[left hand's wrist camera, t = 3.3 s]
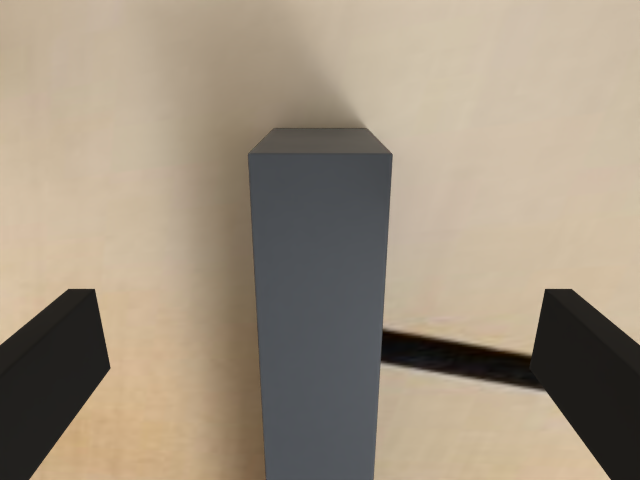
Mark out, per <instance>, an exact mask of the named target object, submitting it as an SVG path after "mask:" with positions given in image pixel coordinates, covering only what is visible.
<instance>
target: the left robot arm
mask: <svg viewBox="0 0 640 480" xmlns="http://www.w3.org/2000/svg"><path fill="white" fill-rule="evenodd" d="M109 370H110V363H109V358H108V353H107V348H106V343H105V338H104V333H103V328H102V323H101V318H100V313H99V308H98V303H97V298H96V293H95V289H68V290H67V291H65V292H64V293H63V294H62V295H61V296H59V297H58V298H57V299H56V300H55V301H53V302H52V303H51V304H50V305H48V306H47V307H46V308H45V309H44V310H42V311H41V312H40V313H39V314H38V315H36V316H35V317H34V318H33V319H32V320H30V321H29V322H28V323H27V324H25V325H24V326H23V327H22V328H21V329H19V330H18V331H17V332H16V333H15V334H13V335H12V336H11V337H10V338H8V339H7V340H6V341H5V342H4V343H2V344H1V345H0V480H29V479H30V478H31V476H32V475H33V474H34V472H35V471H36V470H37V468H38V467H39V465H40V464H41V463H42V461H43V460H44V459H45V457H46V456H47V454H48V453H49V452H50V450H51V449H52V448H53V446H54V445H55V444H56V442H57V441H58V439H59V438H60V437H61V435H62V434H63V433H64V431H65V430H66V428H67V427H68V426H69V424H70V423H71V422H72V420H73V419H74V418H75V416H76V415H77V413H78V412H79V411H80V409H81V408H82V407H83V405H84V404H85V402H86V401H87V400H88V398H89V397H90V396H91V394H92V393H93V392H94V390H95V389H96V387H97V386H98V385H99V383H100V382H101V381H102V379H103V378H104V376H105V375H106V374H107V372H108V371H109ZM530 370H531V371H532V372H533V374H534V375H535V376H536V378H537V379H538V381H539V382H540V383H541V385H542V386H543V387H544V389H545V390H546V392H547V393H548V394H549V396H550V397H551V398H552V400H553V401H554V402H555V404H556V405H557V407H558V408H559V409H560V411H561V412H562V413H563V415H564V416H565V418H566V419H567V420H568V422H569V423H570V424H571V426H572V427H573V428H574V430H575V431H576V433H577V434H578V435H579V437H580V438H581V439H582V441H583V442H584V444H585V445H586V446H587V448H588V449H589V450H590V452H591V453H592V454H593V456H594V457H595V459H596V460H597V461H598V463H599V464H600V465H601V467H602V468H603V470H604V471H605V472H606V474H607V475H608V476H609V478H610V479H611V480H640V345H639V344H638V343H636V342H635V341H634V340H633V339H632V338H630V337H629V336H628V335H627V334H625V333H624V332H623V331H622V330H621V329H619V328H618V327H617V326H616V325H615V324H613V323H612V322H611V321H610V320H608V319H607V318H606V317H605V316H604V315H602V314H601V313H600V312H599V311H598V310H596V309H595V308H594V307H593V306H592V305H590V304H589V303H588V302H587V301H585V300H584V299H583V298H582V297H581V296H579V295H578V294H577V293H576V292H575V291H573V290H572V289H545V293H544V298H543V303H542V308H541V313H540V318H539V323H538V328H537V333H536V338H535V343H534V348H533V353H532V358H531V363H530Z"/></svg>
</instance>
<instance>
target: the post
mask: <svg viewBox="0 0 640 480" xmlns="http://www.w3.org/2000/svg"><path fill="white" fill-rule="evenodd" d="M392 157H393V155H392V153H391V152H390V151H389V150H388V149H387V148H386V147H385V146H384V145H383V144H382V143H381V142H380V141H379V140H378V139H377V138H376V137H375V136H374V135H373V134H372V133H371V132H370V131H369V130H368V129H367V128H274V129H273V130H272V131H271V132H270V133H269V134H268V135H267V136H266V137H265V138H264V139H263V140H262V141H261V142H260V143H259V144H257V145H256V146H255V147H254V148H253V149H252V150H251V151H250V152H249V153H248V165H249V183H250V201H251V219H252V237H253V255H254V273H255V291H256V310H257V328H258V346H259V364H260V382H261V400H262V418H263V436H264V454H265V472H266V480H374V463H375V446H376V429H377V412H378V395H379V378H380V361H381V344H382V327H383V310H384V293H385V276H386V259H387V242H388V225H389V208H390V191H391V174H392Z"/></svg>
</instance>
